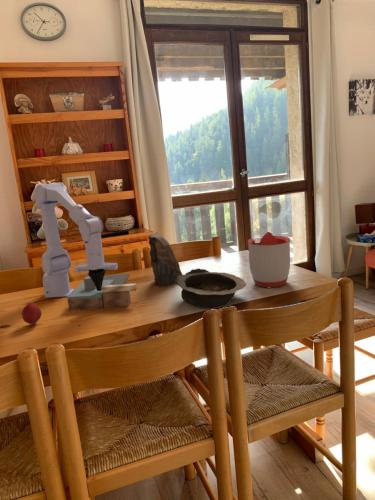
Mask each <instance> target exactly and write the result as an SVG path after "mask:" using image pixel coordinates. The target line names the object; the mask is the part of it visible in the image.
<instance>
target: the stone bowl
mask: <svg viewBox="0 0 375 500" xmlns="http://www.w3.org/2000/svg"><path fill="white" fill-rule="evenodd" d="M174 281H175V283H174V284H176V285H178V286H179V287H180V289H181V293H180V294H181V299H182V300H183V301H190V302H192V303H193V304H194V306H195V307H197V308H201V309H206V308H215V307H217V306H223V305H224V306H225V305H228V304H229V303H230V302H231V301H232V300H233V298H234V296H235V293H237V292H239V291H241V290H242V289H244V288H246V286H247V282H246V281H245V280H244V279H243V278H242V277H239V276H236V275H234V274H232V273H227V272H219V271H218V272H217V271H212V272H211V271H209V270H206V269H205V268H195V269H193V268H192V269H190V271H188V272H186V273H185V274H183V275H178V276H177V277H176V278H174Z"/></svg>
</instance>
